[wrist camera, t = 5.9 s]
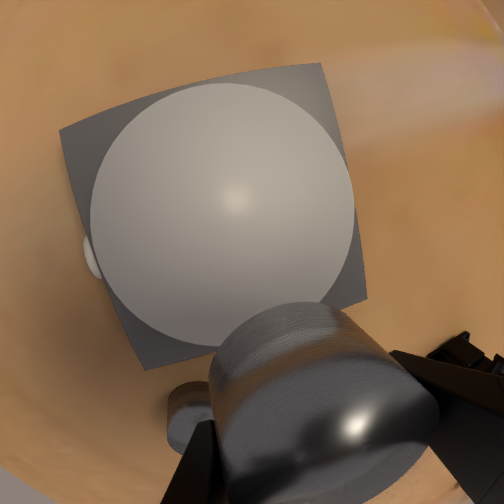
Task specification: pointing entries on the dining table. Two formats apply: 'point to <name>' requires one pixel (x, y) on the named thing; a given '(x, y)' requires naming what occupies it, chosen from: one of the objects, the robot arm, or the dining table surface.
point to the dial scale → (216, 207)
